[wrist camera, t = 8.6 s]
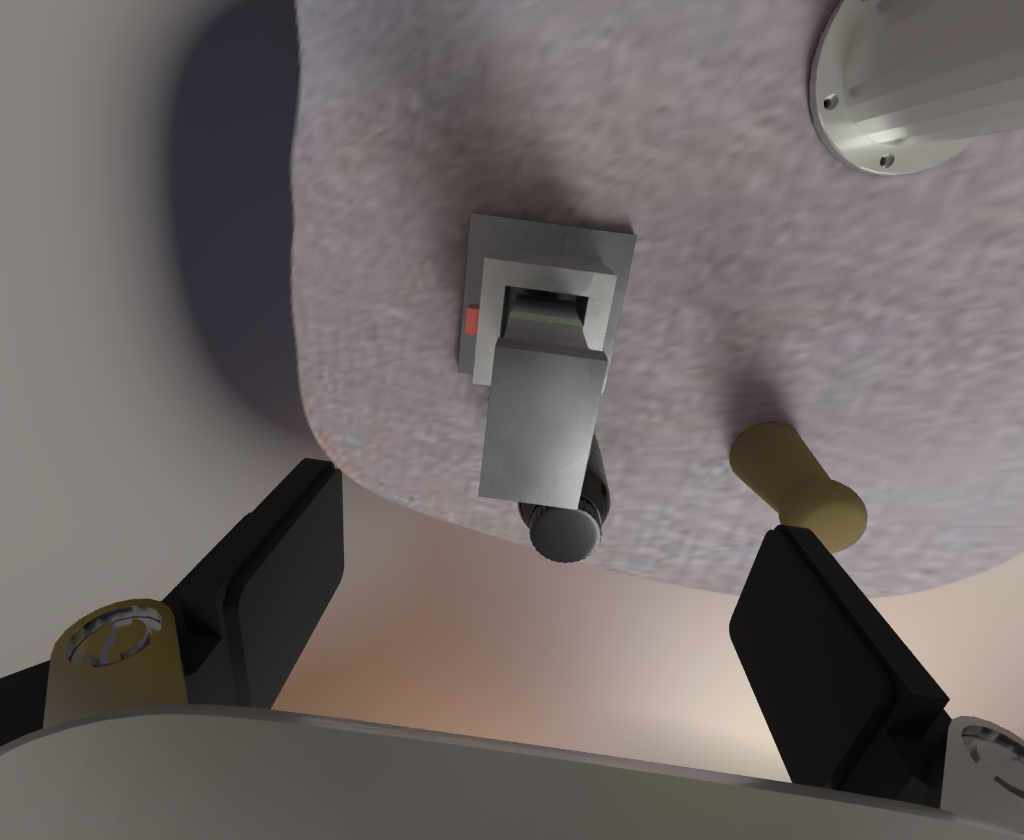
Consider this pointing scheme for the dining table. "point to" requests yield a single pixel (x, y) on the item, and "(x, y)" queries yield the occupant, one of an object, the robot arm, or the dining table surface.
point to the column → (541, 406)
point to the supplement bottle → (571, 517)
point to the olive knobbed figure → (798, 485)
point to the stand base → (539, 281)
